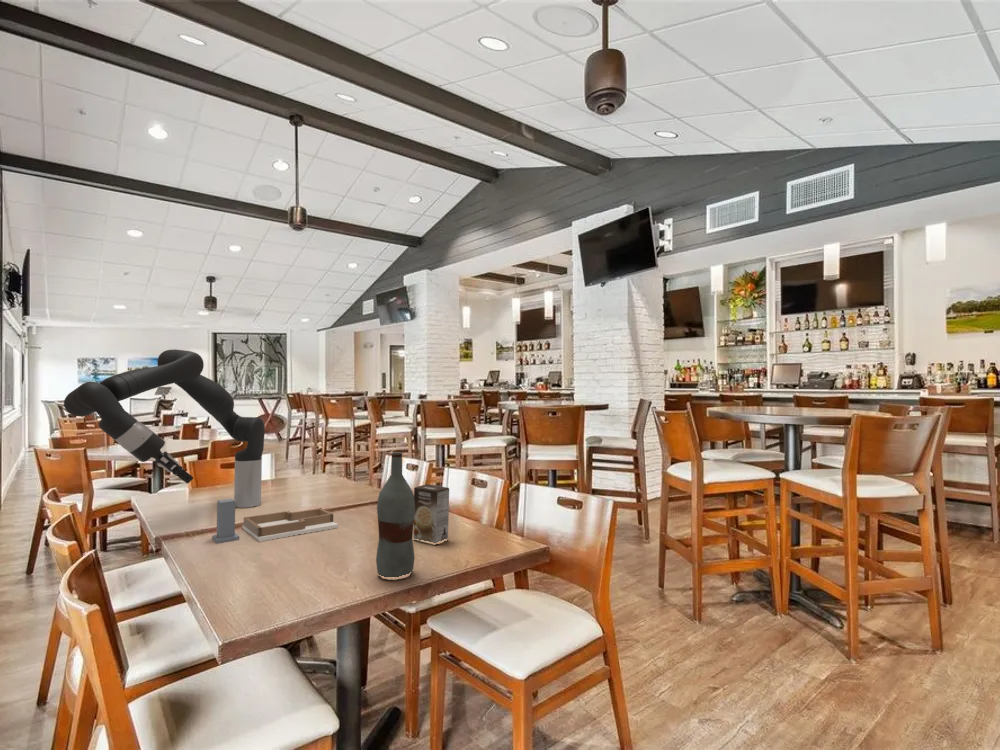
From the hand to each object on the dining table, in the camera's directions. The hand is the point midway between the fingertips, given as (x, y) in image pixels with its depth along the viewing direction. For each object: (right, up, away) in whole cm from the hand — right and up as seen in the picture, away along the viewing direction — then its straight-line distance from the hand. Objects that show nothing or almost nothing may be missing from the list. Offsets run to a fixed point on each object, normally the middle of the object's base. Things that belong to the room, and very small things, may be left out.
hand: (187, 478), depth 152 cm
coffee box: (+69, -20, +7) cm, 72 cm away
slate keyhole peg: (+8, -19, +6) cm, 22 cm away
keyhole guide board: (+22, -20, +19) cm, 35 cm away
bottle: (+63, -20, -21) cm, 70 cm away
